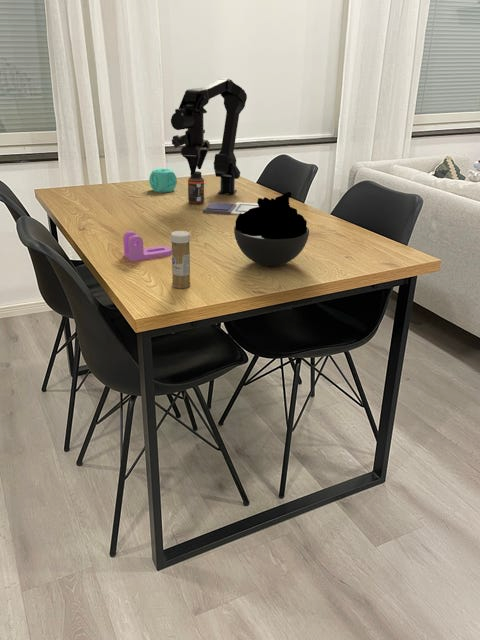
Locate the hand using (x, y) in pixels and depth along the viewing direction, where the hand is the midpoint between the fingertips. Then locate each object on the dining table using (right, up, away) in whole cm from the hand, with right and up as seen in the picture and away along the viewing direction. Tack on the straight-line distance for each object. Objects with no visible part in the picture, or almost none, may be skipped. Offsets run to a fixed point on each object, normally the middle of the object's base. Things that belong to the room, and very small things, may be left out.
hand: (196, 171), depth 214 cm
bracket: (-9, -37, -51) cm, 63 cm away
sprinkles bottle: (+2, -46, -71) cm, 85 cm away
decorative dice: (-15, -2, +22) cm, 27 cm away
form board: (+20, -15, -3) cm, 25 cm away
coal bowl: (+24, -40, -55) cm, 72 cm away
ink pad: (+9, -15, -4) cm, 18 cm away
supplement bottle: (0, -11, +5) cm, 12 cm away
